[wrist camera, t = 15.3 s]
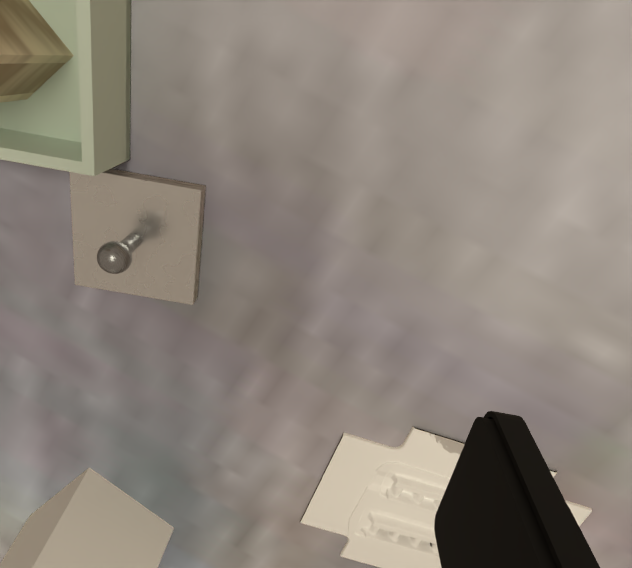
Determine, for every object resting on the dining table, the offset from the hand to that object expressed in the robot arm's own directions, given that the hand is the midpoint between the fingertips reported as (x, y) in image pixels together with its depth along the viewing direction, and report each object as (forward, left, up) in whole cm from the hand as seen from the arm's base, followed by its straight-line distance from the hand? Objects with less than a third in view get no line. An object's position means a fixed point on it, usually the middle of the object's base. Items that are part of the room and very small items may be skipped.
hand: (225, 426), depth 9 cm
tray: (+36, +20, -31) cm, 51 cm away
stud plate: (+9, -13, -30) cm, 34 cm away
